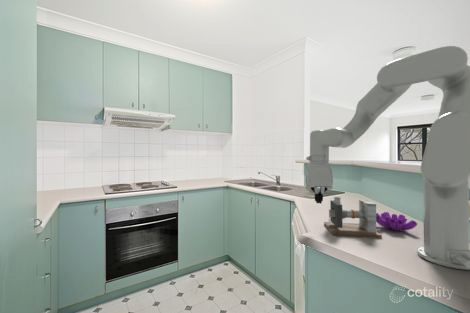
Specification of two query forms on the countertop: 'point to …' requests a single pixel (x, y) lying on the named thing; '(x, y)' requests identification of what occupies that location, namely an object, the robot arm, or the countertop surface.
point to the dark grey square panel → (336, 213)
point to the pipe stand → (353, 229)
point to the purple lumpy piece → (394, 221)
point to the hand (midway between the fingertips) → (318, 202)
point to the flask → (337, 200)
